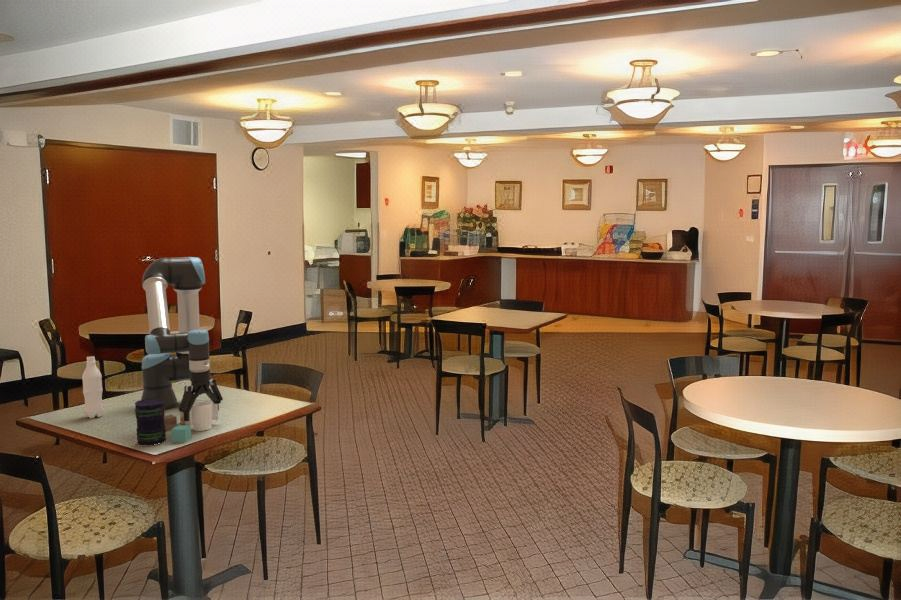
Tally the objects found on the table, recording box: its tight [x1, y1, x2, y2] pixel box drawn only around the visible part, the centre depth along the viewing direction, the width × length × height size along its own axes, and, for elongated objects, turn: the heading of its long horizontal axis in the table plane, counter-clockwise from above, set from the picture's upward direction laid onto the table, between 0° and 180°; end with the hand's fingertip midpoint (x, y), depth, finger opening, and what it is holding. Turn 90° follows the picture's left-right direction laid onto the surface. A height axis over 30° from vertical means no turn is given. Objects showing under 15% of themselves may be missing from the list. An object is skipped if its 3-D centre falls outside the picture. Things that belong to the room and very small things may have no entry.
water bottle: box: [81, 355, 105, 419], centre depth 288 cm, size 7×7×25 cm
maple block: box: [179, 410, 193, 425], centre depth 281 cm, size 5×5×5 cm
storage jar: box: [134, 398, 167, 446], centre depth 256 cm, size 10×10×15 cm
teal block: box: [171, 424, 192, 443], centre depth 258 cm, size 5×5×5 cm
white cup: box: [191, 400, 213, 432], centre depth 272 cm, size 8×8×10 cm
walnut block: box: [164, 414, 178, 432], centre depth 272 cm, size 5×5×5 cm
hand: (202, 424), depth 272 cm, fingers open, 13 cm apart
